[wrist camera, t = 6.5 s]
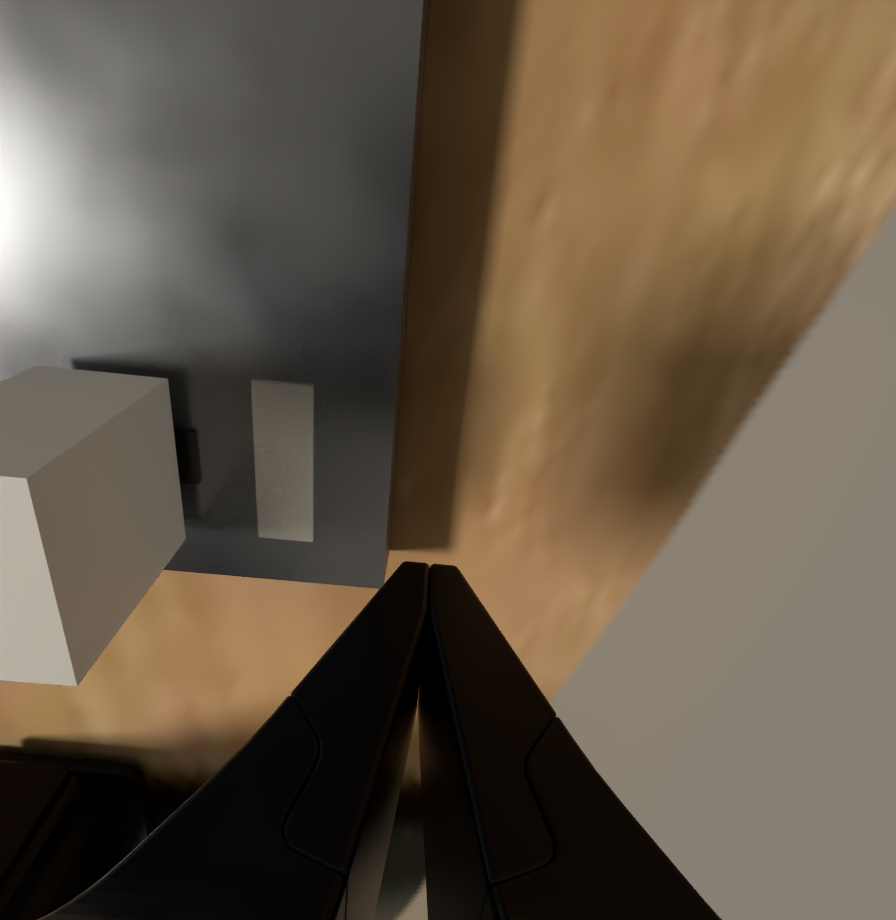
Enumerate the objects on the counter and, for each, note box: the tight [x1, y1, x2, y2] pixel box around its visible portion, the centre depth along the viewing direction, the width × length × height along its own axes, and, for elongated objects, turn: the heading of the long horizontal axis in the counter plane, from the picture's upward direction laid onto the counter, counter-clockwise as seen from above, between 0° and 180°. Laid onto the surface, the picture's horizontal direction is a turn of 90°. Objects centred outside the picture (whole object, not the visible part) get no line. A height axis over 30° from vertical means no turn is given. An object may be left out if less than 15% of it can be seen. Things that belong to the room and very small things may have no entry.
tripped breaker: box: [0, 365, 186, 686], centre depth 10 cm, size 4×2×4 cm, turn 174°
